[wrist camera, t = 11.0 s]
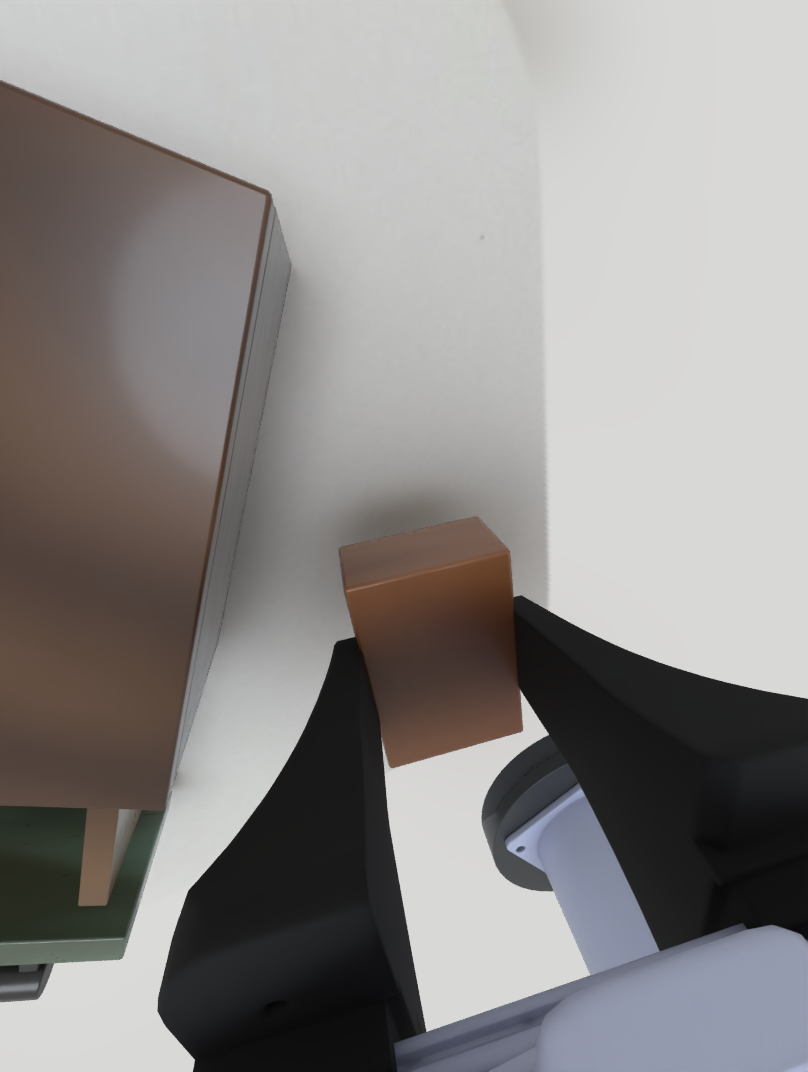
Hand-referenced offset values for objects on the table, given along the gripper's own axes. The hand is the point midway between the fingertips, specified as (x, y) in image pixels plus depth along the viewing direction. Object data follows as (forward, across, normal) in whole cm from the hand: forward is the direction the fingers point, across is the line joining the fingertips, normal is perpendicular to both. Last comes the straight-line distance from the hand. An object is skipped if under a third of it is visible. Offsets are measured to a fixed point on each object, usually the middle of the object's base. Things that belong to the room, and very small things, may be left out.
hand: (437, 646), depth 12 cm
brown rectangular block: (+1, 0, 0) cm, 1 cm away
